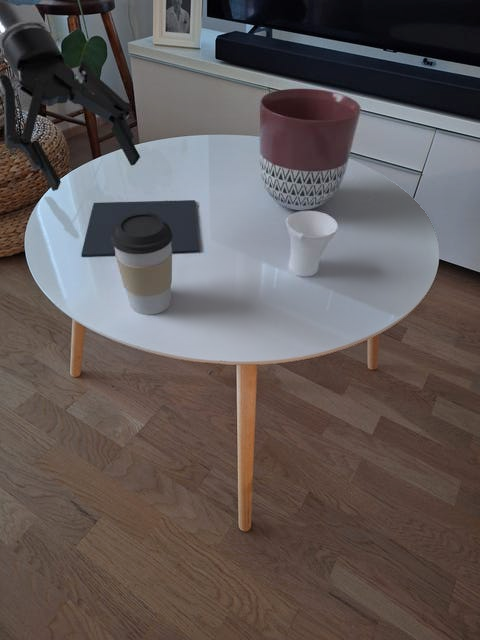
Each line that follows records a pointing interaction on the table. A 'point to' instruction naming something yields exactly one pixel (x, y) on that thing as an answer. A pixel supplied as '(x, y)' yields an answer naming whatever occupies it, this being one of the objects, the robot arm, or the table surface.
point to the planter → (305, 144)
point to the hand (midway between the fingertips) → (98, 173)
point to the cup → (308, 240)
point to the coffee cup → (144, 261)
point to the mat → (170, 212)
